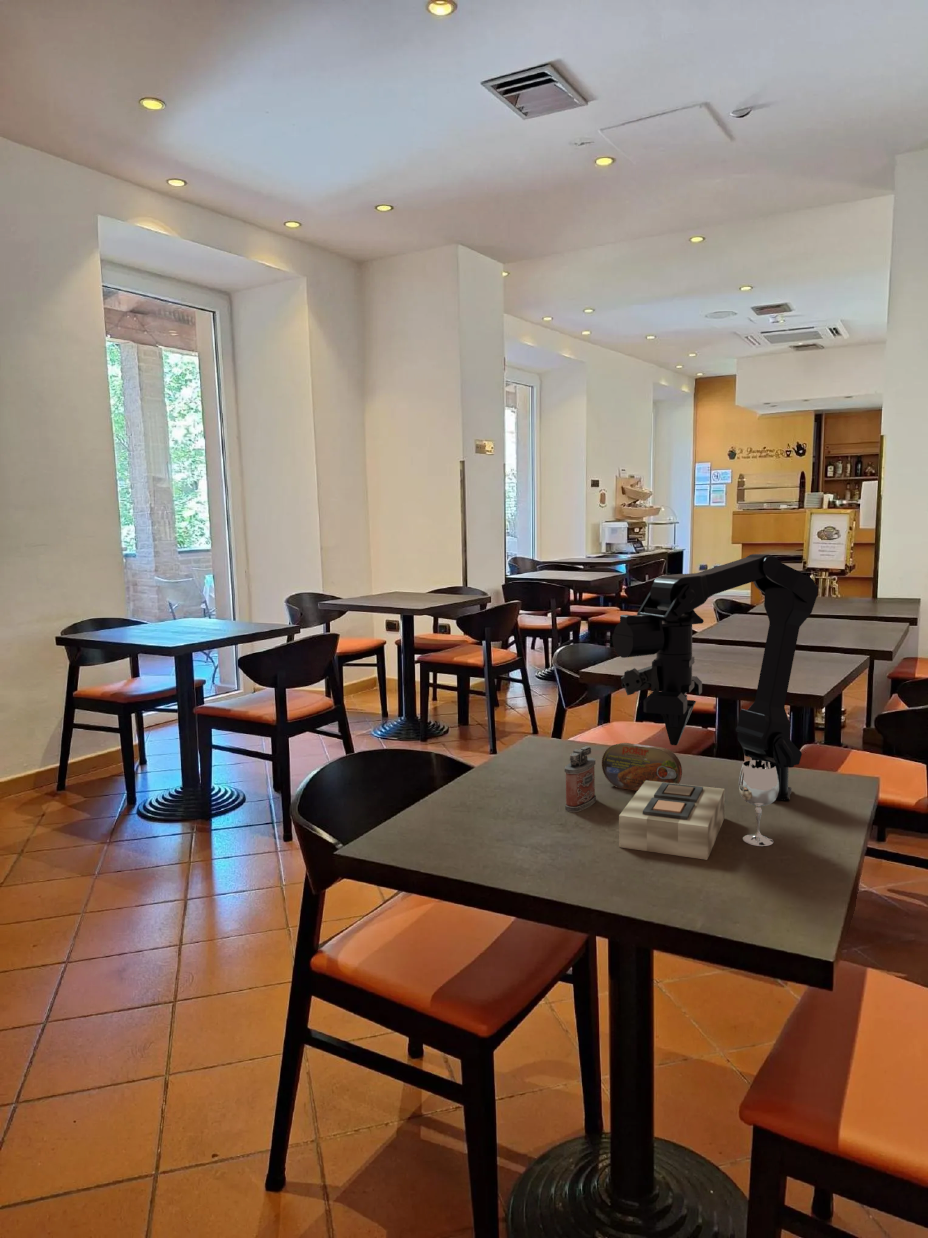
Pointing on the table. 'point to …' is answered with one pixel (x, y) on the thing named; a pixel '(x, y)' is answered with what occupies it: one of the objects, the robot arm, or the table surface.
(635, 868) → the table surface
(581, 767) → the lighter
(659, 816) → the board
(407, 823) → the table surface
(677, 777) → the tin
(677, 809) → the peg
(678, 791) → the peg
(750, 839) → the wineglass
